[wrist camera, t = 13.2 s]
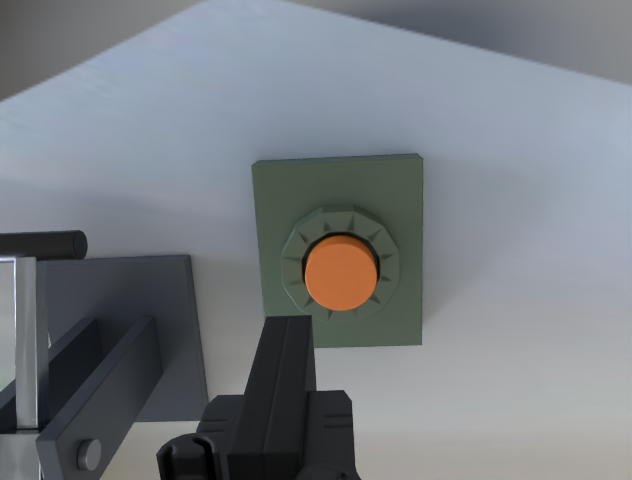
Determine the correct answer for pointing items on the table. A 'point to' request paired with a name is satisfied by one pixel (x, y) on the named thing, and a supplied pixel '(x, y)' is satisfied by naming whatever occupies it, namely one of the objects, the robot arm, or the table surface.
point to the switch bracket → (115, 358)
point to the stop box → (351, 220)
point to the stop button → (340, 273)
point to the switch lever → (32, 342)
